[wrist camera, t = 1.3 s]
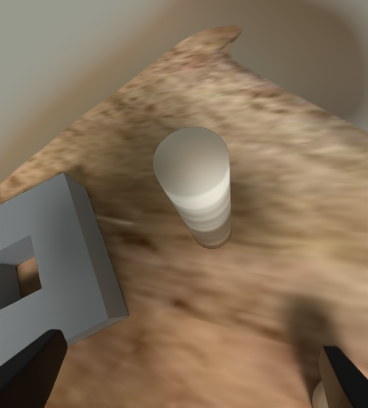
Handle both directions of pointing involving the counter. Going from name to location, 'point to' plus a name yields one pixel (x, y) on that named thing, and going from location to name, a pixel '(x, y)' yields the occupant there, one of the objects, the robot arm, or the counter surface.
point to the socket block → (55, 267)
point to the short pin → (319, 397)
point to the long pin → (197, 182)
